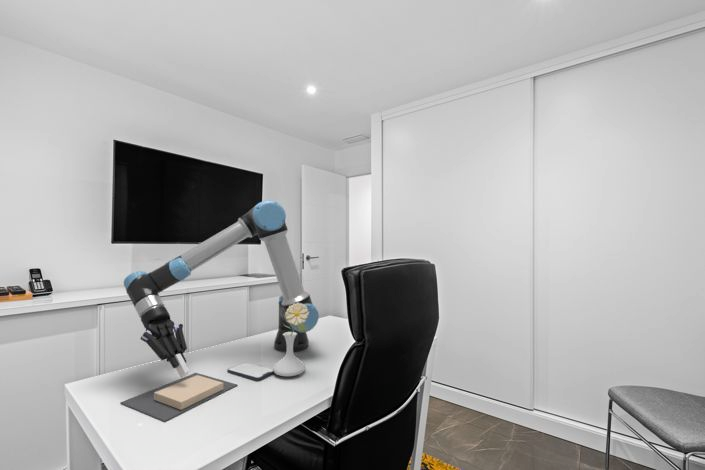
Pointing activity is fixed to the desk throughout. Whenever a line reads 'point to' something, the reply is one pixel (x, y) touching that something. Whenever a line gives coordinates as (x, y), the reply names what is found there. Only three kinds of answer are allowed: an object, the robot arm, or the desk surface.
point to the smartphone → (251, 371)
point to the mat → (164, 411)
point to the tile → (188, 392)
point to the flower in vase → (290, 362)
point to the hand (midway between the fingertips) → (185, 374)
